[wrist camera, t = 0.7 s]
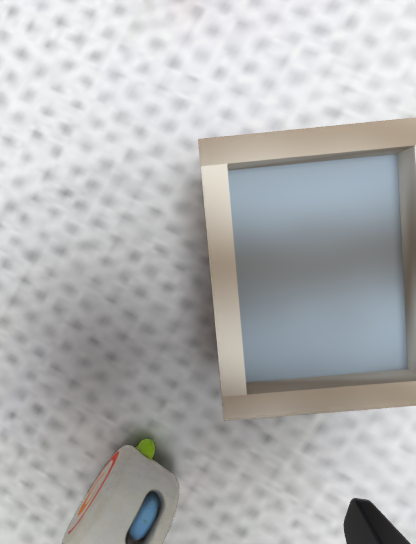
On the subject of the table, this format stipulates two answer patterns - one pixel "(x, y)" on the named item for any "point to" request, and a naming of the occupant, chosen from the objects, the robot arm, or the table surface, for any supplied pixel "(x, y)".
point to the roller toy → (127, 501)
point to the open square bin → (313, 267)
